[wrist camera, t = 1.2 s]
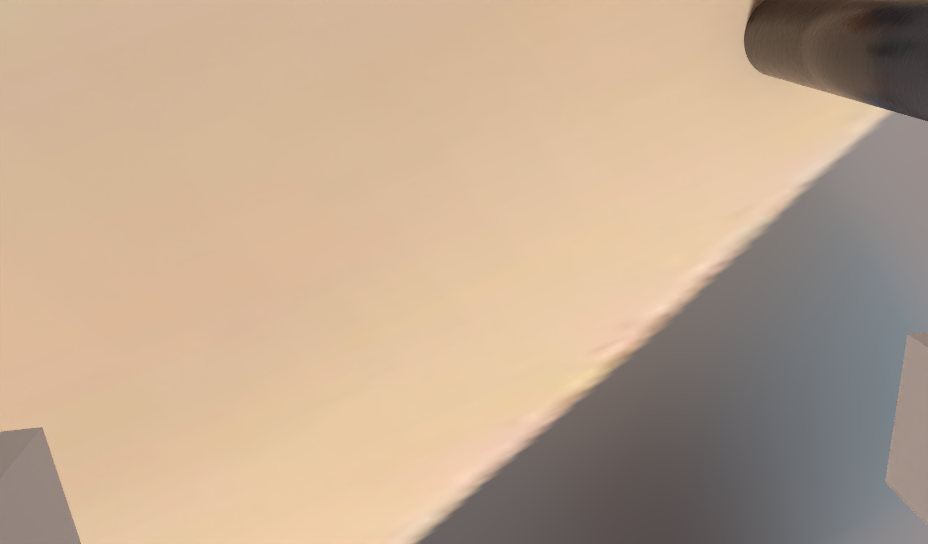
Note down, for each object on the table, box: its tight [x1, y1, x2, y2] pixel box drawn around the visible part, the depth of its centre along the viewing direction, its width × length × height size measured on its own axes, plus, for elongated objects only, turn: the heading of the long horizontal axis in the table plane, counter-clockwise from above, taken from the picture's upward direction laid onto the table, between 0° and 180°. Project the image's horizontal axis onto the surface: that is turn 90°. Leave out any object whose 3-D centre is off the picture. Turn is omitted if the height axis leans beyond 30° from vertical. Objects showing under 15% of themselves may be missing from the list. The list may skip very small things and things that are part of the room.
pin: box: [744, 0, 928, 121], centre depth 30 cm, size 4×4×14 cm
